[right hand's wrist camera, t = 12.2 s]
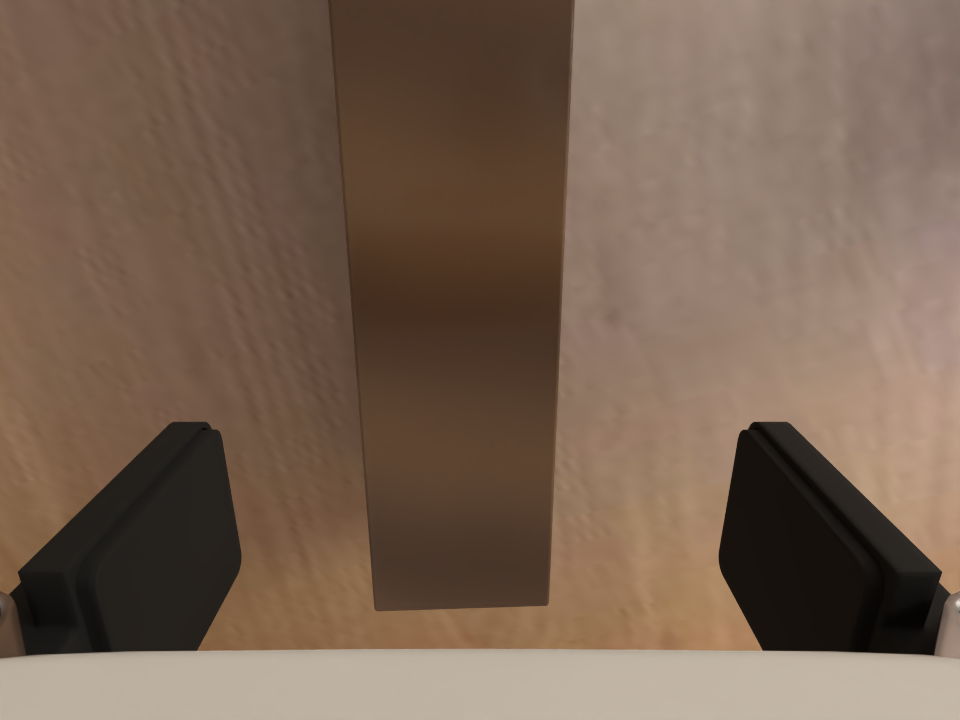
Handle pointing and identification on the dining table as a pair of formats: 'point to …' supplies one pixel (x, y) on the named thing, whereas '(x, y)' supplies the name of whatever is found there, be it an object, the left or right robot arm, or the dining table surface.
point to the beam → (456, 286)
